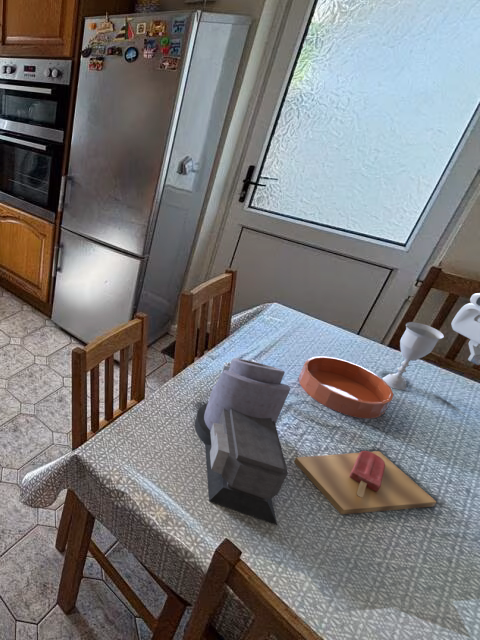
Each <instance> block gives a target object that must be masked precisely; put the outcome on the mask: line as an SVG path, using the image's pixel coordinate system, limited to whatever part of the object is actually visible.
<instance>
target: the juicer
mask: <svg viewBox="0 0 480 640" xmlns="http://www.w3.org/2000/svg"><path fill="white" fill-rule="evenodd" d="M230 362H231V365H230V368H229V371H227V370H224V371H223V372H222V371H221V372H222V373H221V372H220V375H219V377H218V379H217V381H216V384H214V386H212V388H211V392H210V395H209V397H208V401H207V403H204V404H203V405H201V406H200V407H198V408H197V409H198V410H197V413H196V415H195V419H194V429H195V432H196V435H197V436H198V438H199V439H200V441H201V442H202V443H203V445H205V446H204V448H205V450H204V451H205V462H206V479H207V490H208V502H210V503H213V504H216V505H218V506H221V507H224V508H227V509H230V510H233V511H236V512H238V513H241V514H244V515H247V516H249V517H252V518H255V519H258V520H261V521H264V522H266V523H269V524H272V525H275V526H278V521H277V516H276V512H275V511H276V510H275V507H274V502H273V498H274V497H277V496H278V495H279V493H280V491H281V489H282V487H283V485H284V482H285V481H286V478H287V477H288V474H289V471H288V468H287V464H286V460H285V456H284V451H283V449H282V444H281V441H280V436H279V433H278V429H277V426H276V424H277V422H278V419H279V417H280V414H281V412H282V410H283V407H284V405H285V403H286V400H287V398H288V397H289V393H290V391H291V387H290V385H289V384H285V383H282V380H283V378H284V376H285V374H286V373H285V370H283V369H281V368H278V367H276V366H272V365H268V364H264V363H260V362H257V361H256V362H252V361H251V360H247V359H243V358H237V357H234V358H232V359H231V361H230Z"/></svg>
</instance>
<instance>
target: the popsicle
mask: <svg viewBox="0 0 480 640" xmlns="http://www.w3.org/2000/svg"><path fill="white" fill-rule="evenodd" d="M372 452H373V451H368V450H361V451H359V453H360V454H359V455H358V457H357V460H356V462H355V464H354V466H353V469H352V471H351V473H350V476H349V477H350V478H352V479H354V480H355V481H357V482H359V483H360V485H359V488H358V491H357V496H359V497H361V498H362V497H363V495H364V492H365V489H366V486H367V487H368V488H370V489H372V490H374V491H376V492H378V490H379V488H380V487H381V482H382V478H383V474H384V469H385V462H384V461H383V459H382V458H380V457H379V456H378V455H376V454H374V453H372Z"/></svg>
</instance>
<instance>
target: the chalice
mask: <svg viewBox="0 0 480 640" xmlns="http://www.w3.org/2000/svg"><path fill="white" fill-rule="evenodd" d="M443 338H444V334H443V333H442V332H441V331H440V330H439V329H436V328H434V327H432V326H430V325H427V324H424V323H420V322H415V321H408V322H406V323H405V331H404V332H403V334H402V336H401V338H400V340H399V348H400V353H401V356H402V357H403V359H404V360H403V361H402V362H400V364H401V366H399V367H397V372H396V373H394V372H392V373H388V374H387V375H385V376H384V377H381V379H383V380H384V381H385V382H386V383H387V384H388V385H389V386H390V387H391V388H393V389H394V390H395V389H396V390H400V391H405V390H407V389H408V387H407V385H408V384H407V380H406V378H405V377H404V376H403V374H404V373H406V372H407V370H406V368H408V367H410V362H411V361H412V362H415V361H418V360H420V359H422V358H423V357H424V358H425V357H426V356H427V355H429V354H430V353H432V351H433V350H434V349H435V347H436V345H437V343H438V341H439V340H441V339H443Z"/></svg>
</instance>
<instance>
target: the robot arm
mask: <svg viewBox="0 0 480 640" xmlns="http://www.w3.org/2000/svg"><path fill="white" fill-rule="evenodd" d="M469 301H470V302H469V303H466V304H464V305H463V306H462V307H461V308H459V310H458V311H457V313H456V314H455V315H454V318H453V319H452V321H451V322H450V324H451V329H452V331H454V332H456V333H458V334H460V335H461V336H463V337H465V338H468V340H469V342H468V343H467V344H468V348H469V353H470V355H469V356H468V358H467V361H469V363H472V364H474V365H476V366H479V365H480V292H477V293H473V294H472V295H471V296H470V298H469Z"/></svg>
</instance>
